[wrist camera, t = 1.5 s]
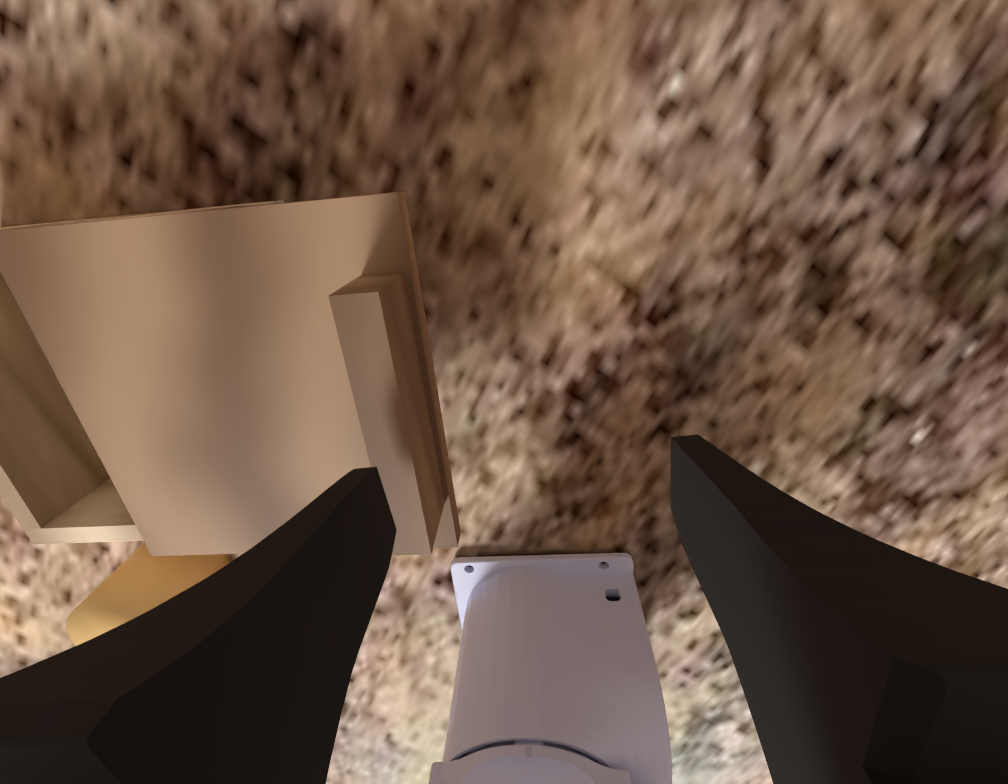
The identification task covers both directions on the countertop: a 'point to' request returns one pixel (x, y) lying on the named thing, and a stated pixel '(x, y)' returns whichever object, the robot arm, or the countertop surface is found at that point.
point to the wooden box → (53, 438)
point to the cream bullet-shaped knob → (138, 590)
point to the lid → (244, 363)
